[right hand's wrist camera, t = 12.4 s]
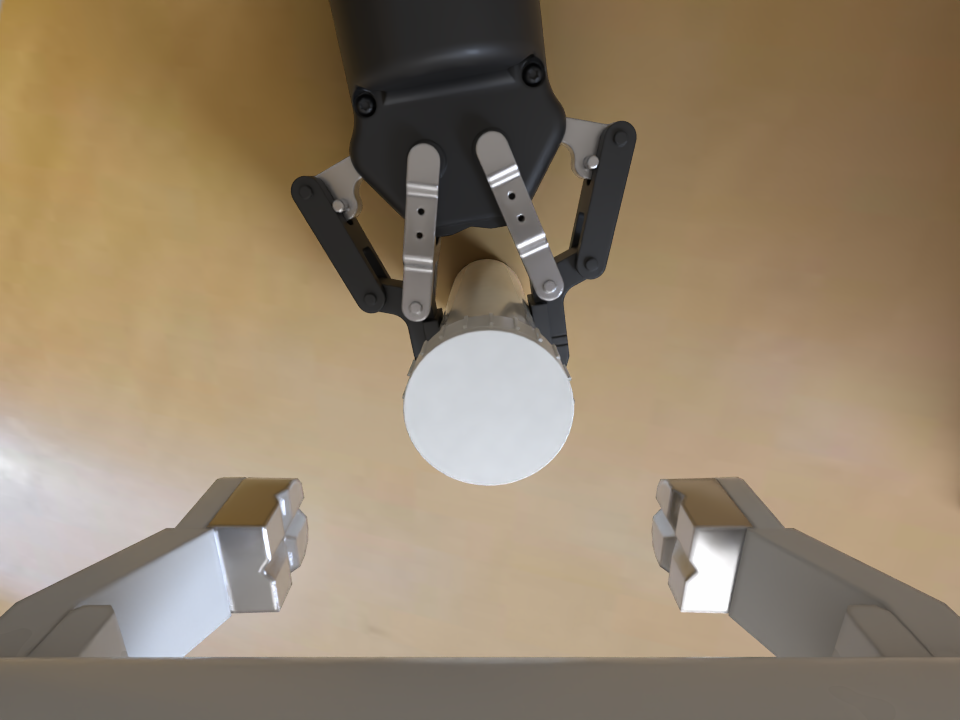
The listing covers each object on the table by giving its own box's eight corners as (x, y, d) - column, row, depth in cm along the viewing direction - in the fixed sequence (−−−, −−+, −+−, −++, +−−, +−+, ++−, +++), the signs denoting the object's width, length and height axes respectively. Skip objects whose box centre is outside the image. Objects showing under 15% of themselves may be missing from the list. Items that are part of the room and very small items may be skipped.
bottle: (440, 312, 30) (399, 438, 15) (467, 247, 29) (449, 317, 14) (504, 339, 30) (522, 484, 16) (534, 275, 29) (581, 371, 15)
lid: (386, 427, 17) (375, 452, 15) (443, 285, 15) (438, 298, 14) (526, 480, 17) (530, 510, 16) (595, 349, 16) (607, 368, 14)
